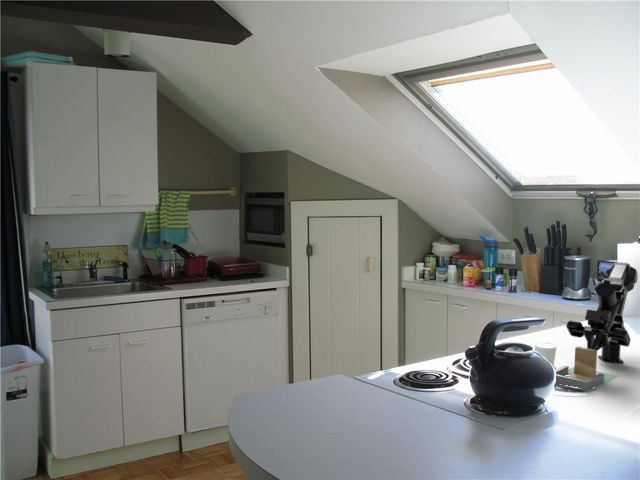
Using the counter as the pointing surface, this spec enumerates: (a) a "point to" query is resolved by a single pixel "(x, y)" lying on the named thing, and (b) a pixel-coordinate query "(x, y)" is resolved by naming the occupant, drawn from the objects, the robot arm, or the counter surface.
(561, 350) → the counter surface
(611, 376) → the mat
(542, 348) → the white cup
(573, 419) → the counter surface
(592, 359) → the bookend
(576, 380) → the pocket
